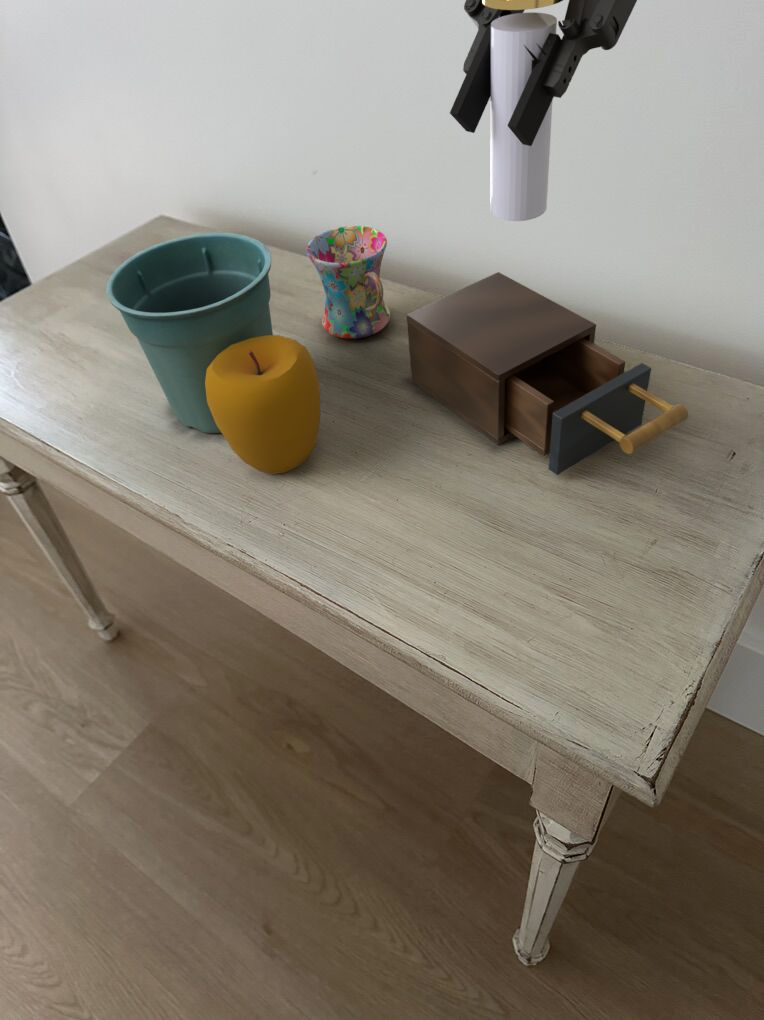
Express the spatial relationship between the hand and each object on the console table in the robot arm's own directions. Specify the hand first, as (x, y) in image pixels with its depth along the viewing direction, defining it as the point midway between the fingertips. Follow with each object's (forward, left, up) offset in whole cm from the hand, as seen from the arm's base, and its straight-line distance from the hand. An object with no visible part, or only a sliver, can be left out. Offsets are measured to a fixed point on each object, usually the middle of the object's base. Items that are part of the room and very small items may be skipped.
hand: (490, 128), depth 58 cm
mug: (+21, -18, -31) cm, 41 cm away
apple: (+21, +6, -31) cm, 38 cm away
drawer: (-8, -4, -30) cm, 31 cm away
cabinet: (+2, -10, -31) cm, 33 cm away
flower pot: (+31, -1, -31) cm, 44 cm away
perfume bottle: (-1, -4, -8) cm, 9 cm away
